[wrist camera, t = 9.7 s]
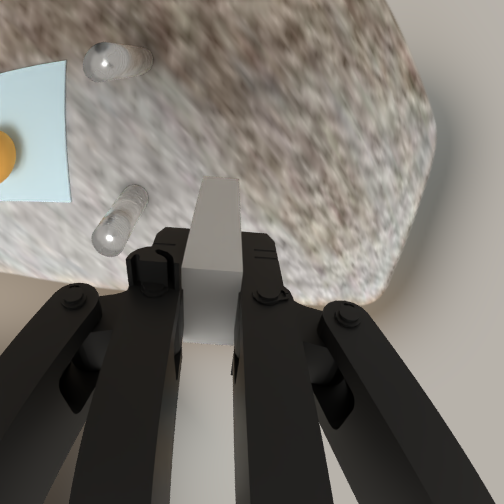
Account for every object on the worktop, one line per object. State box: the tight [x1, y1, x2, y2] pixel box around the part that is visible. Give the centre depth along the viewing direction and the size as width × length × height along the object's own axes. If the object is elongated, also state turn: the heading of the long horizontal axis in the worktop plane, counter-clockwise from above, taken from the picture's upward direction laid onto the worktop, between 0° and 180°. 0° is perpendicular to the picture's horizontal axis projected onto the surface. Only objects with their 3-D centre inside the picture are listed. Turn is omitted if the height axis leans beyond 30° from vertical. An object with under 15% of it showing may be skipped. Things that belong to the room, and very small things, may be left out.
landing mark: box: [0, 60, 72, 202], centre depth 23 cm, size 14×14×1 cm
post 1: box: [83, 42, 153, 82], centre depth 18 cm, size 3×3×8 cm
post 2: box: [92, 185, 148, 257], centre depth 25 cm, size 3×3×8 cm
